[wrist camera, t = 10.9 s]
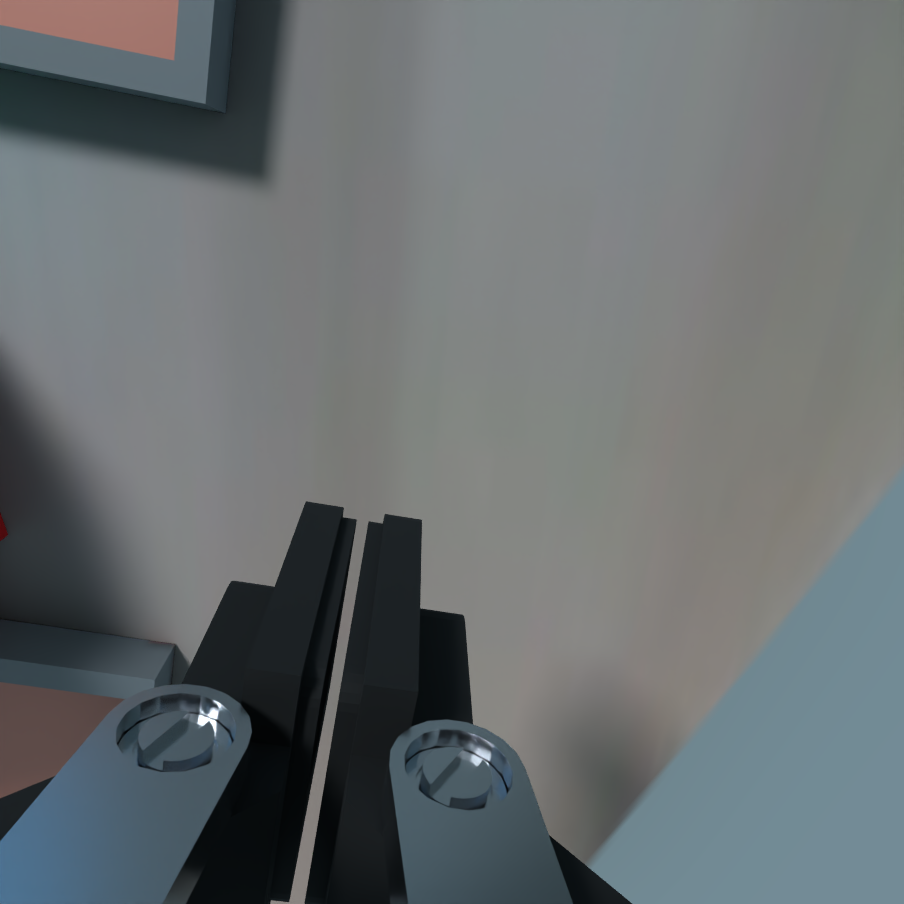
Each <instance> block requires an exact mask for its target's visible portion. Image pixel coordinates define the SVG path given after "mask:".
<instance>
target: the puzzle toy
mask: <svg viewBox="0 0 904 904" xmlns="http://www.w3.org/2000/svg"><path fill="white" fill-rule="evenodd" d="M7 535H8V533H7V530H6V527H5V525H4V522H3V519H2V516H1V513H0V541H1V540H2V539H4V538H5V537H6V536H7Z"/></svg>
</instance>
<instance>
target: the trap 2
mask: <svg viewBox="0 0 904 904" xmlns="http://www.w3.org/2000/svg"><path fill="white" fill-rule="evenodd" d="M235 9H236V0H0V68H2V69H7V70H12V71H17V72H22V73H27V74H32V75H37V76H42V77H47V78H52V79H57V80H62V81H67V82H72V83H77V84H82V85H87V86H92V87H97V88H102V89H107V90H112V91H117V92H122V93H127V94H132V95H137V96H142V97H147V98H152V99H157V100H162V101H167V102H172V103H177V104H181V105H186V106H191V107H196V108H201V109H206V110H211V111H216V112H221V113H226V104H227V94H228V83H229V73H230V62H231V52H232V41H233V31H234V20H235Z"/></svg>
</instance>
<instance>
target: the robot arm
mask: <svg viewBox="0 0 904 904" xmlns="http://www.w3.org/2000/svg"><path fill="white" fill-rule="evenodd" d="M343 510H344V508H343V507H337V506H331V505H325V504H319V503H312V502H306V503H305V505H304V508H303V511H302V513H301V516H300V519H299V522H298V524H297V527H296V530H295V533H294V535H293V538H292V541H291V544H290V546H289V549H288V552H287V555H286V557H285V560H284V563H283V566H282V568H281V571H280V574H279V577H278V579H277V582H276V585H275V587H273V586H266V585H259V584H252V583H246V582H239V581H231V583H230V584H229V586H228V588H227V590H226V592H225V594H224V596H223V598H222V600H221V602H220V605H219V607H218V609H217V611H216V613H215V615H214V617H213V619H212V621H211V623H210V626H209V628H208V630H207V632H206V634H205V636H204V638H203V640H202V642H201V644H200V647H199V649H198V651H197V653H196V655H195V657H194V659H193V661H192V663H191V666H190V668H189V670H188V672H187V674H186V676H185V678H184V680H183V682H182V684H178V685H163V686H160V687H156V688H152V689H148V690H144V691H141V692H139V693H137V694H135V695H133V696H131V697H129V698H127V699H125V700H123V701H122V702H121V703H120V704H118V705H117V706H116V707H115V708H114V709H113V710H111V711H110V712H109V713H108V714H107V715H106V717H105V718H104V719H103V720H102V721H101V722H100V724H99V725H98V726H97V727H96V728H95V730H94V731H93V732H92V733H91V734H90V736H89V737H88V738H87V739H86V740H85V741H84V743H83V744H82V745H81V746H80V747H79V749H78V750H77V751H76V752H75V753H74V754H73V756H72V757H71V758H70V759H69V760H68V762H67V763H66V764H65V765H64V766H63V767H62V769H61V770H60V771H59V772H58V773H57V775H56V776H53V777H51V778H49V779H46V780H44V781H41V782H39V783H36V784H34V785H31V786H29V787H27V788H24V789H22V790H19V791H17V792H14V793H12V794H9V795H7V796H5V797H2V798H0V904H270V902H271V900H275V901H283V902H289V900H290V895H291V890H292V884H293V879H294V874H295V869H296V863H297V858H298V853H299V847H300V842H301V837H302V832H303V826H304V821H305V816H306V811H307V805H308V800H309V795H310V789H311V784H312V779H313V774H314V768H315V763H316V758H317V753H318V747H319V742H320V737H321V731H322V726H323V721H324V716H325V710H326V705H327V700H328V694H329V688H330V683H331V677H332V670H333V664H334V658H335V652H336V646H337V639H338V633H339V627H340V621H341V615H342V608H343V602H344V596H345V590H346V584H347V577H348V571H349V565H350V559H351V553H352V546H353V540H354V534H355V528H356V521H357V520H356V519H350V518H343ZM421 538H422V520H419V519H413V518H407V517H400V516H394V515H388V514H385V516H384V521H383V524H381V523H375V522H369V523H368V529H367V534H366V540H365V546H364V552H363V558H362V564H361V570H360V576H359V582H358V588H357V594H356V600H355V605H354V611H353V617H352V623H351V629H350V635H349V641H348V647H347V653H346V659H345V665H344V671H343V677H342V682H341V688H340V694H339V700H338V706H337V712H336V718H335V724H334V730H333V736H332V742H331V748H330V754H329V760H328V766H327V772H326V778H325V784H324V790H323V796H322V802H321V808H320V814H319V820H318V826H317V832H316V838H315V844H314V850H313V856H312V862H311V868H310V874H309V880H308V886H307V892H306V898H305V904H632V903H630V902H629V901H628V900H627V899H626V898H624V897H623V896H622V895H621V894H620V893H618V892H617V891H616V890H615V889H614V888H612V887H611V886H610V885H609V884H608V883H606V882H605V881H604V880H603V879H601V878H600V877H599V876H598V875H597V874H595V873H594V872H593V871H592V870H591V869H589V868H588V867H587V866H586V865H585V864H583V863H582V862H581V861H580V860H579V859H577V858H576V857H575V856H574V855H573V854H571V853H570V852H569V851H568V850H566V849H565V848H564V847H563V846H562V845H560V844H559V843H558V842H557V841H556V840H554V839H553V838H552V837H551V836H550V835H549V834H548V831H547V828H546V826H545V823H544V820H543V817H542V814H541V811H540V809H539V806H538V803H537V800H536V797H535V794H534V792H533V789H532V786H531V783H530V780H529V777H528V775H527V772H526V769H525V767H524V765H523V763H522V762H521V760H520V758H519V756H518V754H517V753H516V752H515V751H514V750H513V749H512V748H511V747H510V746H509V745H508V744H507V743H506V742H505V741H504V740H503V739H501V738H500V737H498V736H496V735H495V734H493V733H492V732H490V731H488V730H487V729H484V728H481V727H479V726H476V725H473V719H472V706H471V693H470V680H469V667H468V654H467V642H466V629H465V619H464V616H463V615H461V614H454V613H447V612H441V611H434V610H427V609H420V586H421Z"/></svg>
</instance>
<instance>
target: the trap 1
mask: <svg viewBox="0 0 904 904" xmlns="http://www.w3.org/2000/svg"><path fill="white" fill-rule="evenodd" d="M174 651H175V644H170V643H163V642H156V641H149V640H142V639H135V638H128V637H121V636H114V635H107V634H100V633H93V632H86V631H79V630H72V629H65V628H58V627H51V626H44V625H37V624H30V623H23V622H16V621H9V620H2V619H0V798H2V797H5V796H7V795H9V794H12V793H14V792H17V791H19V790H22V789H24V788H27V787H29V786H31V785H34V784H36V783H39V782H41V781H44V780H46V779H49V778H51V777H53V776H56V775H57V773H58V772H59V771H60V770H61V769H62V767H63V766H64V765H65V764H66V763H67V762H68V760H69V759H70V758H71V757H72V756H73V754H74V753H75V752H76V751H77V750H78V749H79V747H80V746H81V745H82V744H83V743H84V741H85V740H86V739H87V738H88V737H89V736H90V734H91V733H92V732H93V731H94V730H95V728H96V727H97V726H98V725H99V724H100V722H101V721H102V720H103V719H104V718H105V717H106V715H107V714H108V713H109V712H110V711H111V710H113V709H114V708H115V707H116V706H117V705H118V704H120V703H121V702H122V701H123V700H125V699H127V698H129V697H131V696H133V695H135V694H137V693H139V692H141V691H144V690H148V689H152V688H156V687H160V686H163V685H171V683H172V672H173V662H174Z"/></svg>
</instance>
